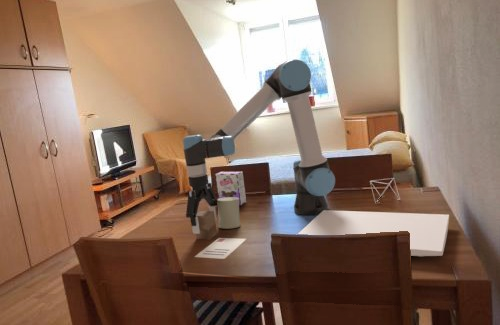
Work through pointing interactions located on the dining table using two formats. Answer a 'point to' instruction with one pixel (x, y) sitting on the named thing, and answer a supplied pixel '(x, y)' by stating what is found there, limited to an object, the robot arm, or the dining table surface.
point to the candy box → (231, 185)
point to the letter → (220, 248)
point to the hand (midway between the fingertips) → (205, 227)
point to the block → (206, 225)
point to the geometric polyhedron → (385, 188)
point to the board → (386, 227)
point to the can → (228, 212)
